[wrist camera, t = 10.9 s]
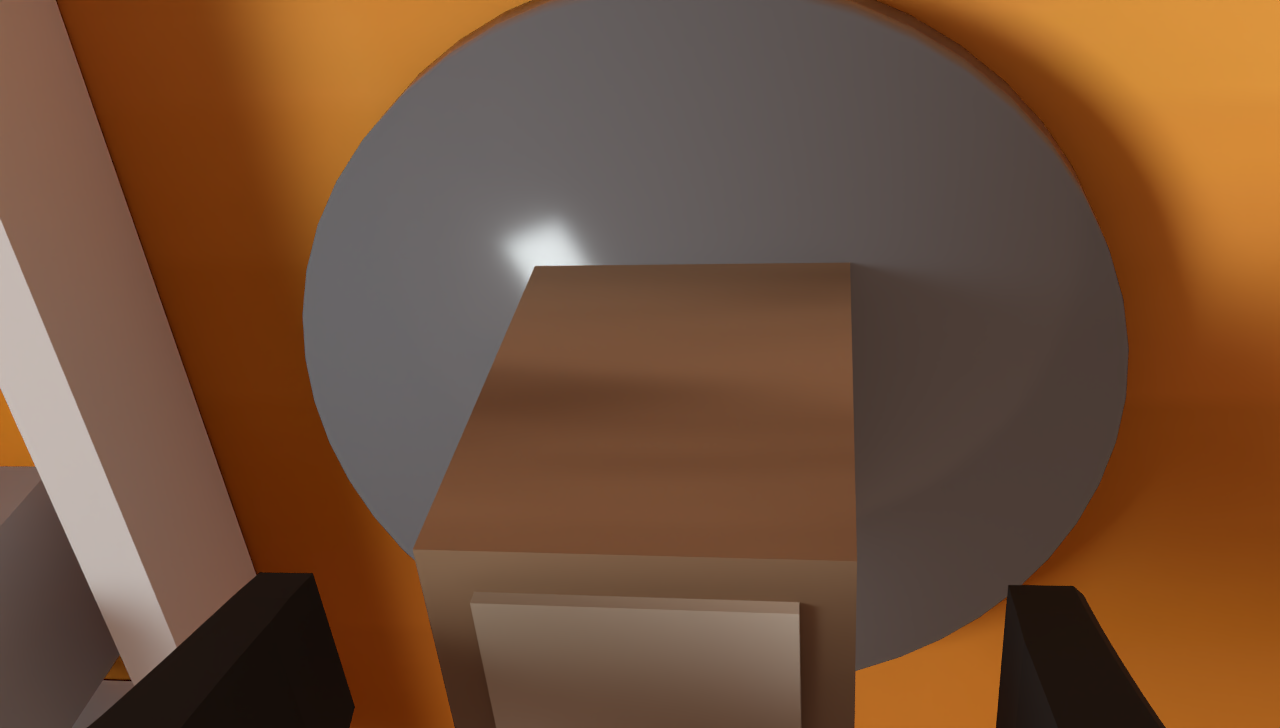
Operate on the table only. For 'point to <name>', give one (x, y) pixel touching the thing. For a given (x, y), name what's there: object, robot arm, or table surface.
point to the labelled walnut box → (655, 506)
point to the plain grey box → (44, 613)
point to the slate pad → (744, 261)
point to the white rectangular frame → (101, 367)
